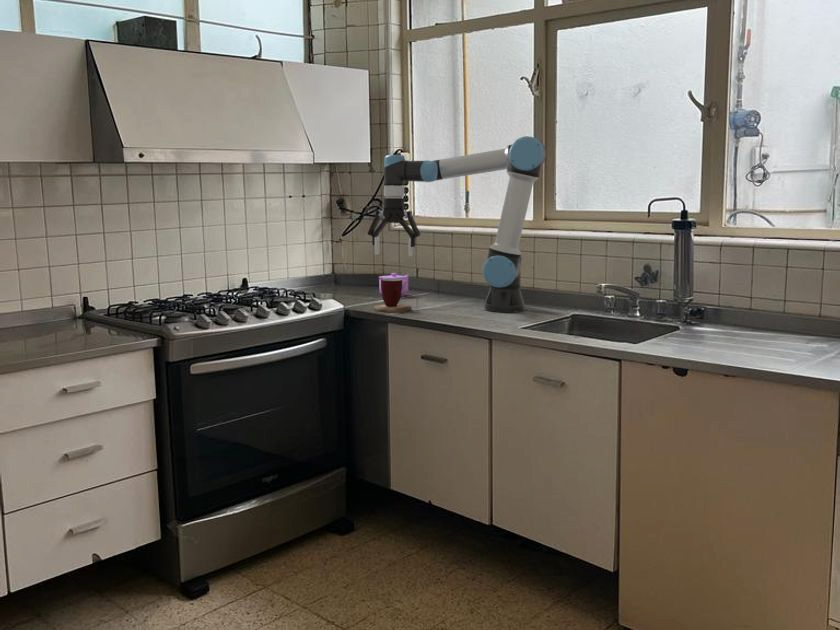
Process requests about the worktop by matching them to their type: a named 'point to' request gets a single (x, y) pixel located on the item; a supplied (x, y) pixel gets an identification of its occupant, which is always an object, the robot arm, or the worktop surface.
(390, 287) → the mug
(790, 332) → the worktop surface
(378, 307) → the trivet
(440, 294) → the worktop surface
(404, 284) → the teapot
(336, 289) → the worktop surface
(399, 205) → the robot arm
